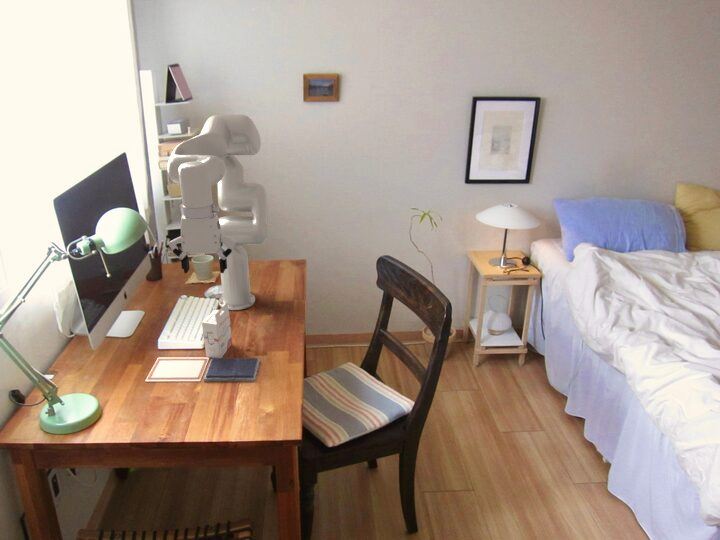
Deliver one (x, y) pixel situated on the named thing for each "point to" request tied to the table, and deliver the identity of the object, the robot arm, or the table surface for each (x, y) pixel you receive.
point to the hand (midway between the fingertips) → (205, 271)
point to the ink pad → (232, 369)
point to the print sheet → (178, 369)
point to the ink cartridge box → (217, 333)
